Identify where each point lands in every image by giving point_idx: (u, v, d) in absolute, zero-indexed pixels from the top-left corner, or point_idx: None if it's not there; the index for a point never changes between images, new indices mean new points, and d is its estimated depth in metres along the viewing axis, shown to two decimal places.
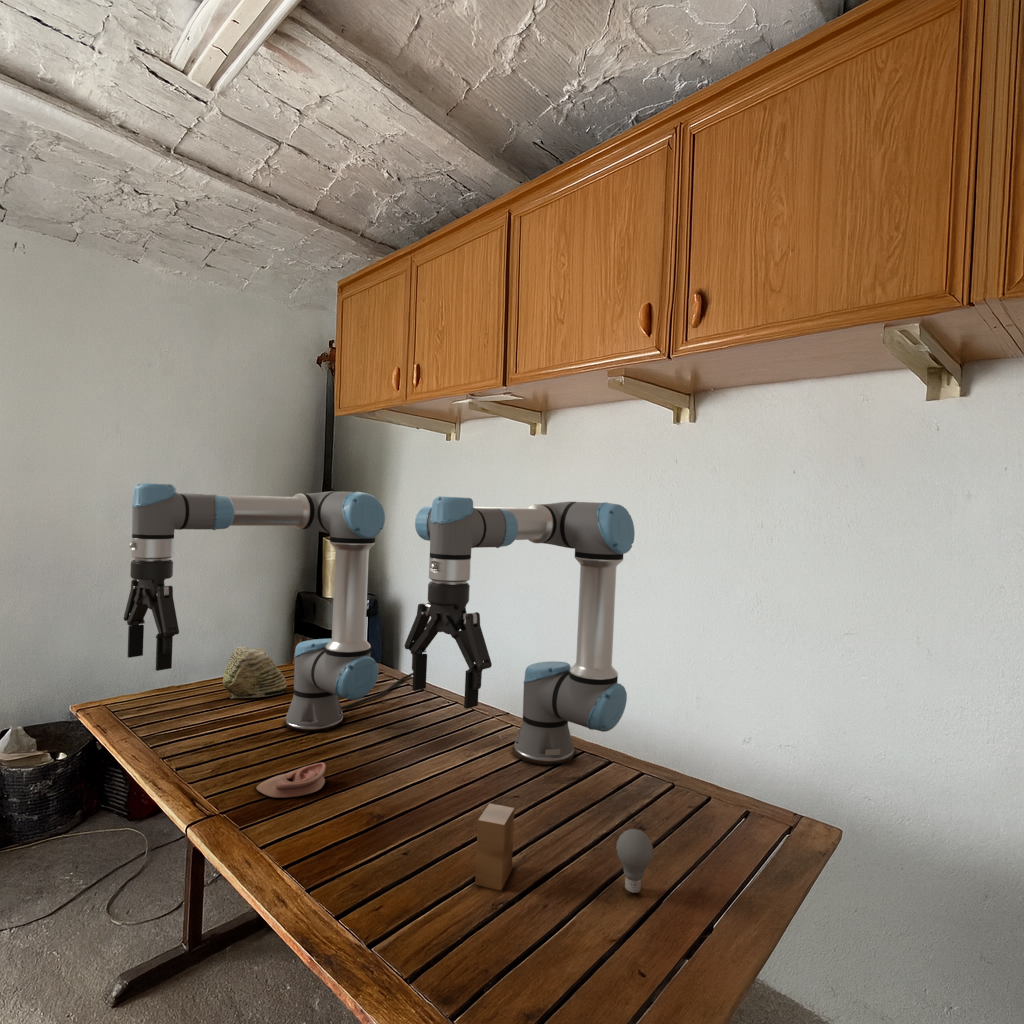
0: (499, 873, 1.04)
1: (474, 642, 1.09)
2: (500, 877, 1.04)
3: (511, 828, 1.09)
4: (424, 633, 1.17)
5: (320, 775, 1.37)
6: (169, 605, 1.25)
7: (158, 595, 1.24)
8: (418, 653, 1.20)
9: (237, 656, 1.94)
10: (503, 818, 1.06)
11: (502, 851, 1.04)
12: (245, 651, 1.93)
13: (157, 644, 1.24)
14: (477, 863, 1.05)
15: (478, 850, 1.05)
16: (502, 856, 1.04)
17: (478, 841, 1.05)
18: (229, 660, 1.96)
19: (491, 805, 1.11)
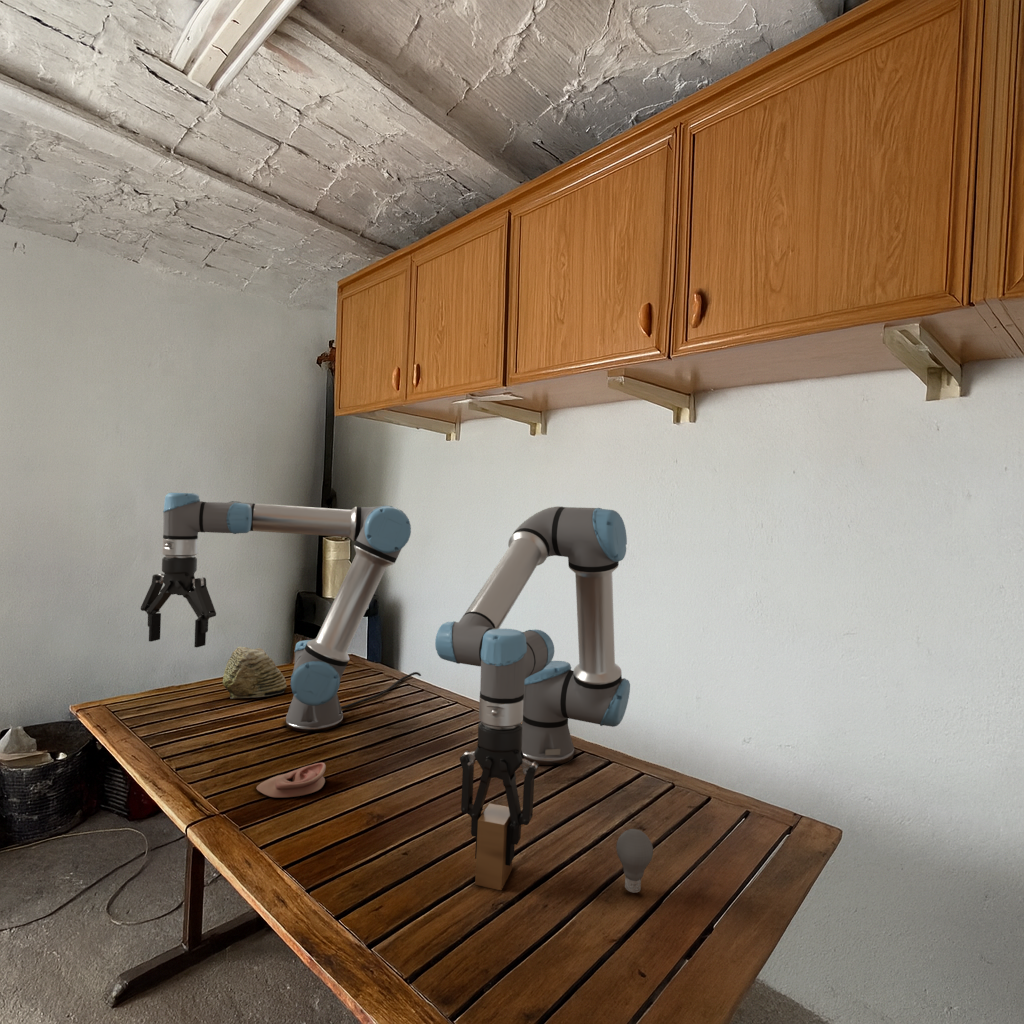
0: (499, 873, 1.04)
1: (529, 797, 1.05)
2: (500, 877, 1.04)
3: None
4: (480, 788, 1.07)
5: (320, 775, 1.37)
6: (205, 593, 1.52)
7: (196, 585, 1.51)
8: (479, 816, 1.08)
9: (237, 656, 1.94)
10: (503, 818, 1.06)
11: (502, 851, 1.04)
12: (245, 651, 1.93)
13: (197, 626, 1.51)
14: (477, 863, 1.05)
15: (478, 850, 1.05)
16: (502, 856, 1.04)
17: (478, 841, 1.05)
18: (229, 660, 1.96)
19: (491, 805, 1.11)
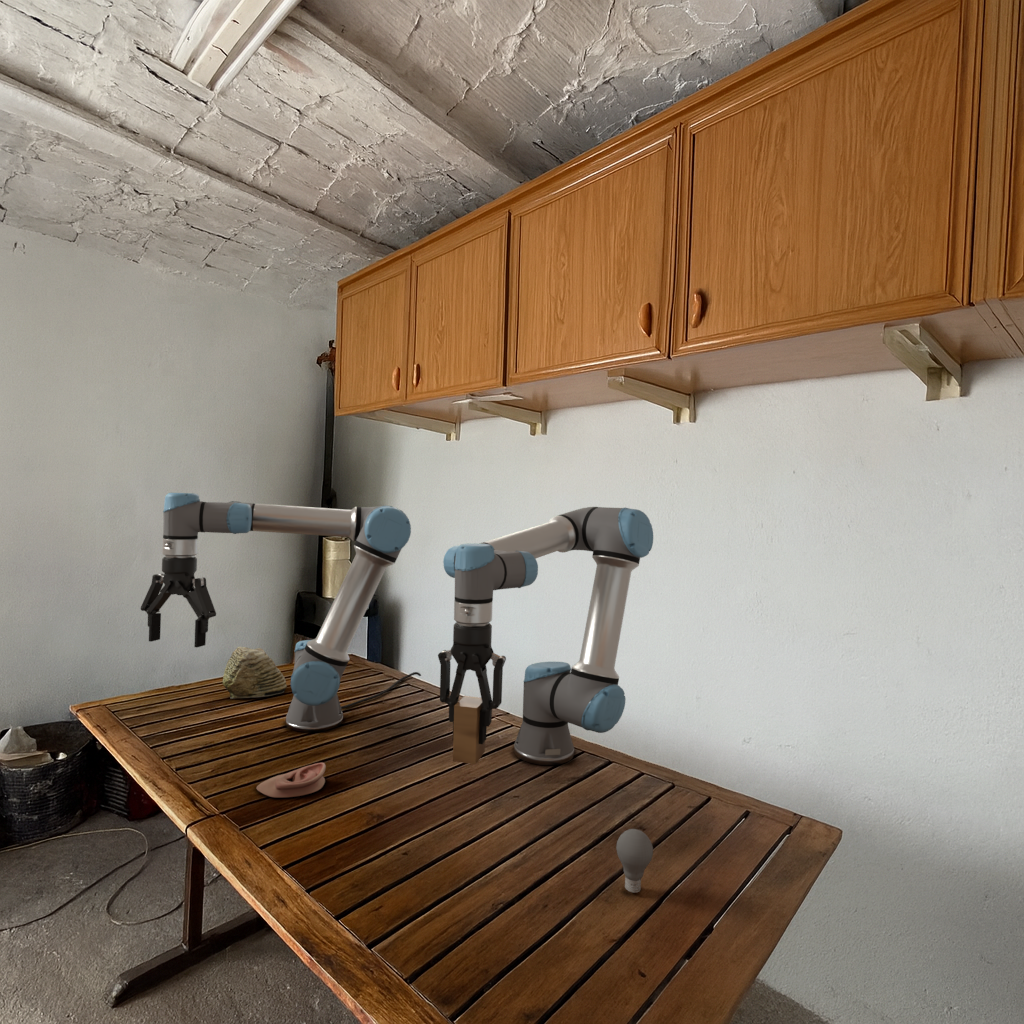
0: (473, 749, 1.22)
1: (498, 684, 1.22)
2: (474, 753, 1.22)
3: None
4: (456, 679, 1.24)
5: (320, 775, 1.37)
6: (205, 593, 1.52)
7: (196, 585, 1.51)
8: None
9: (237, 656, 1.94)
10: (476, 704, 1.23)
11: (475, 731, 1.21)
12: (245, 651, 1.93)
13: (197, 626, 1.51)
14: (454, 742, 1.23)
15: (455, 731, 1.22)
16: (475, 735, 1.22)
17: (455, 723, 1.22)
18: (229, 660, 1.96)
19: (466, 696, 1.28)
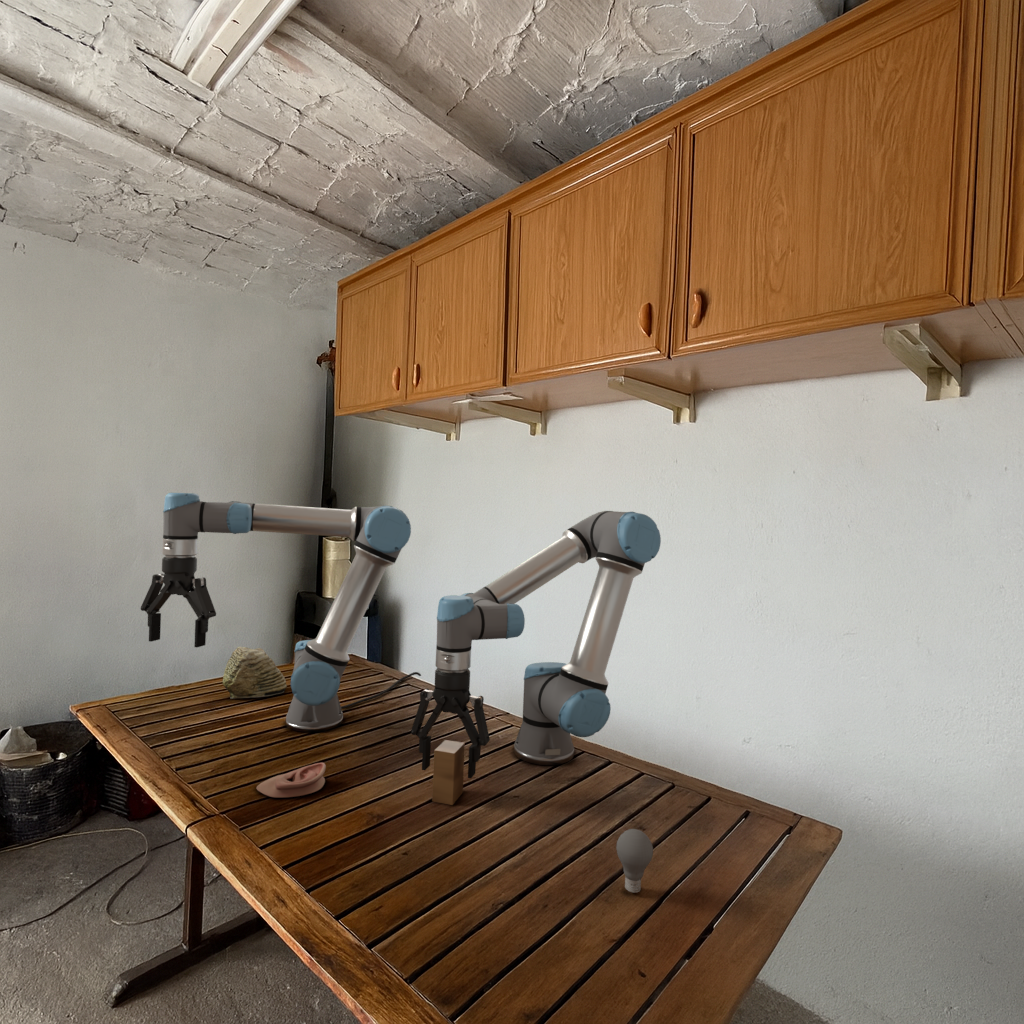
0: (450, 791, 1.33)
1: (481, 723, 1.33)
2: (451, 794, 1.33)
3: (461, 758, 1.37)
4: (431, 717, 1.36)
5: (320, 775, 1.37)
6: (205, 593, 1.52)
7: (196, 585, 1.51)
8: (425, 737, 1.37)
9: (237, 656, 1.94)
10: (454, 749, 1.35)
11: (453, 774, 1.33)
12: (245, 651, 1.93)
13: (197, 626, 1.51)
14: (433, 784, 1.34)
15: (434, 774, 1.34)
16: (453, 778, 1.33)
17: (434, 767, 1.34)
18: (229, 660, 1.96)
19: (446, 741, 1.39)
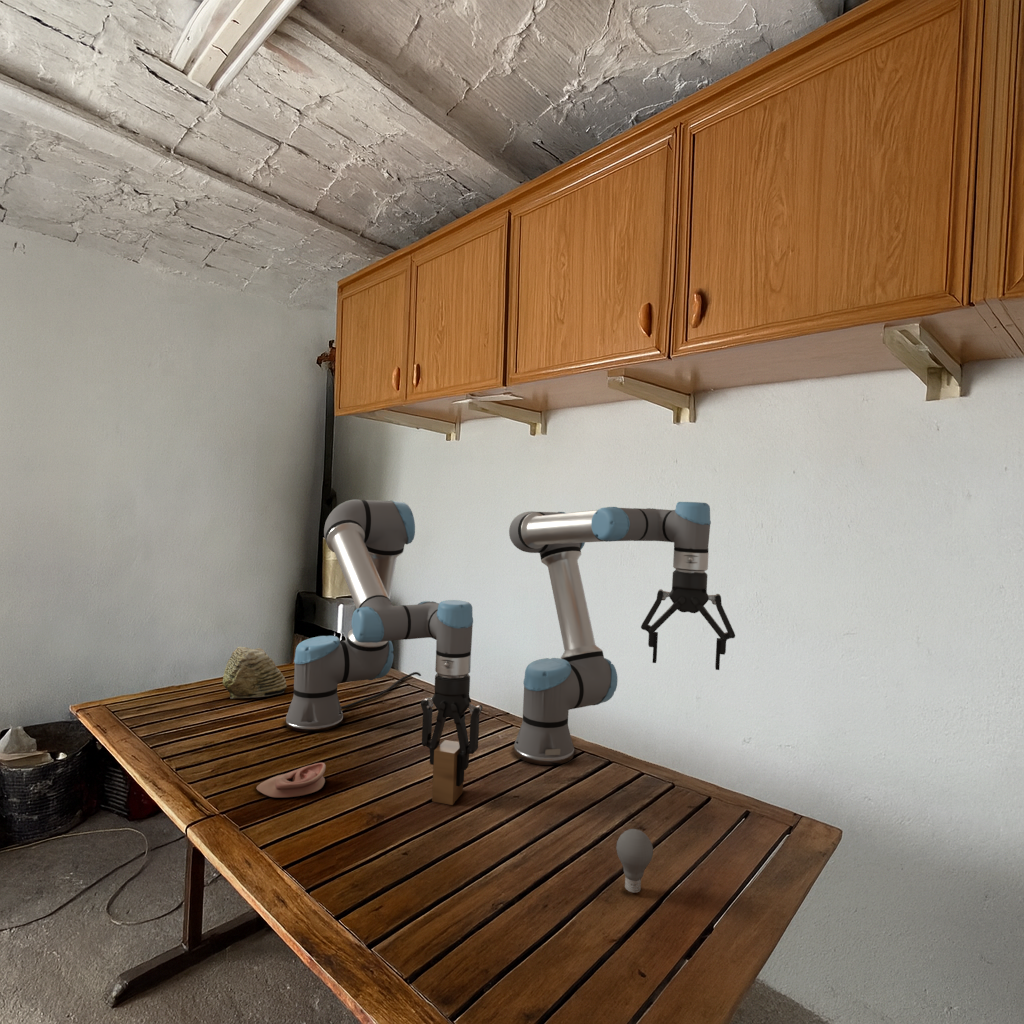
0: (450, 791, 1.33)
1: (726, 617, 1.39)
2: (451, 794, 1.33)
3: None
4: (666, 614, 1.42)
5: (320, 775, 1.37)
6: (477, 724, 1.35)
7: (473, 715, 1.33)
8: (654, 632, 1.44)
9: (237, 656, 1.94)
10: (454, 749, 1.35)
11: (453, 774, 1.33)
12: (245, 651, 1.93)
13: (460, 762, 1.34)
14: (433, 784, 1.34)
15: (434, 774, 1.34)
16: (453, 778, 1.33)
17: (434, 767, 1.34)
18: (229, 660, 1.96)
19: (446, 741, 1.39)
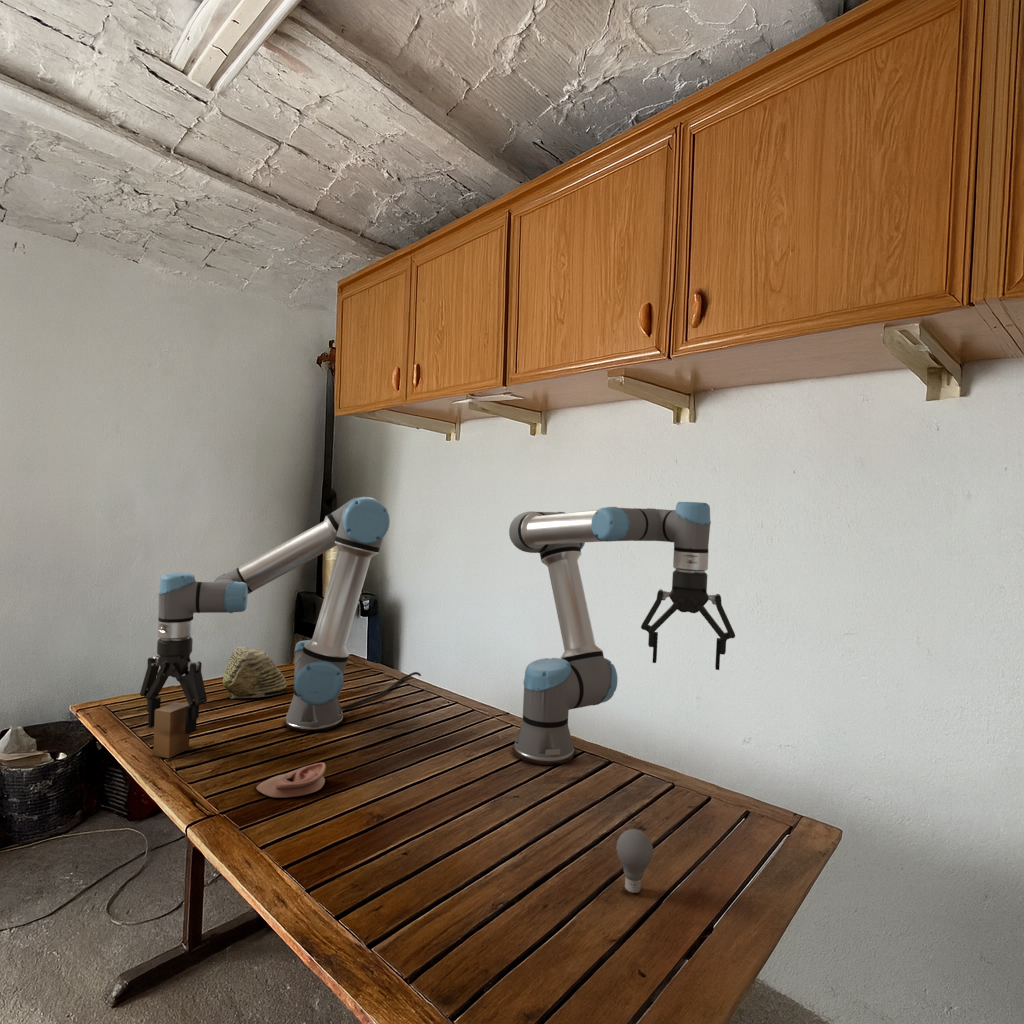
0: (167, 746, 1.49)
1: (726, 617, 1.39)
2: (168, 749, 1.49)
3: (185, 718, 1.54)
4: (666, 614, 1.42)
5: (320, 775, 1.37)
6: (199, 678, 1.51)
7: (191, 670, 1.50)
8: (654, 632, 1.44)
9: (237, 656, 1.94)
10: (174, 709, 1.51)
11: (169, 731, 1.49)
12: (245, 651, 1.93)
13: (188, 712, 1.50)
14: (154, 740, 1.50)
15: (155, 731, 1.50)
16: (169, 734, 1.49)
17: (155, 724, 1.50)
18: (229, 660, 1.96)
19: (175, 703, 1.55)
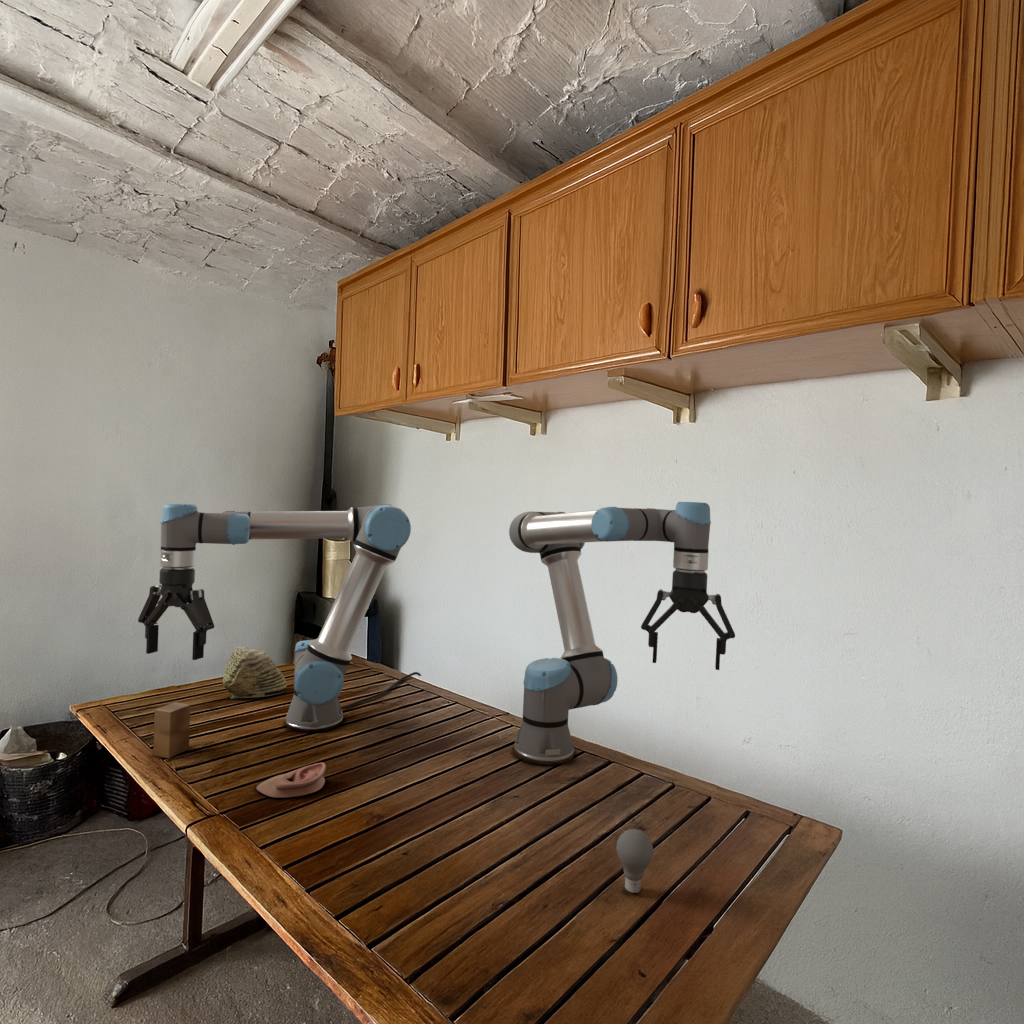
0: (167, 746, 1.49)
1: (726, 617, 1.39)
2: (168, 749, 1.49)
3: (185, 718, 1.54)
4: (666, 614, 1.42)
5: (320, 775, 1.37)
6: (203, 605, 1.50)
7: (194, 597, 1.49)
8: (654, 632, 1.44)
9: (237, 656, 1.94)
10: (174, 709, 1.51)
11: (169, 731, 1.49)
12: (245, 651, 1.93)
13: (195, 638, 1.49)
14: (154, 740, 1.50)
15: (155, 731, 1.50)
16: (169, 734, 1.49)
17: (155, 724, 1.50)
18: (229, 660, 1.96)
19: (175, 703, 1.55)
